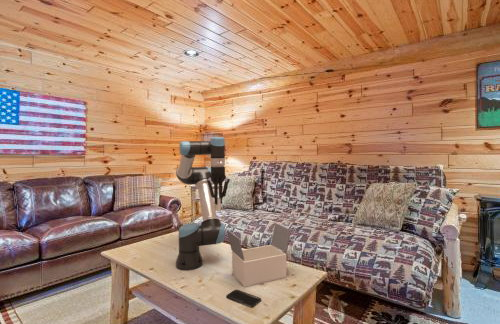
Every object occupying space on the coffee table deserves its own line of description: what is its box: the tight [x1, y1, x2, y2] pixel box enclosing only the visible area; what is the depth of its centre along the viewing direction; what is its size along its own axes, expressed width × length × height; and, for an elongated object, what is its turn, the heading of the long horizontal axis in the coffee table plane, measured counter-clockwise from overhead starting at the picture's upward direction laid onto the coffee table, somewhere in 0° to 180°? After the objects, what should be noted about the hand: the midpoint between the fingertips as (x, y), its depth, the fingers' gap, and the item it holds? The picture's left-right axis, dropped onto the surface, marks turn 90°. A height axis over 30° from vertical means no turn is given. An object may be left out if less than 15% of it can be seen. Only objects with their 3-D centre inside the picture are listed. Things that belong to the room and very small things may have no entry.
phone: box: [225, 289, 262, 309], centre depth 128 cm, size 8×1×15 cm
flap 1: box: [226, 229, 245, 261], centre depth 144 cm, size 16×12×1 cm
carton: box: [231, 244, 287, 288], centre depth 151 cm, size 16×24×12 cm, turn 115°
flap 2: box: [270, 222, 292, 254], centre depth 155 cm, size 16×12×1 cm
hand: (218, 210), depth 152 cm, fingers closed
